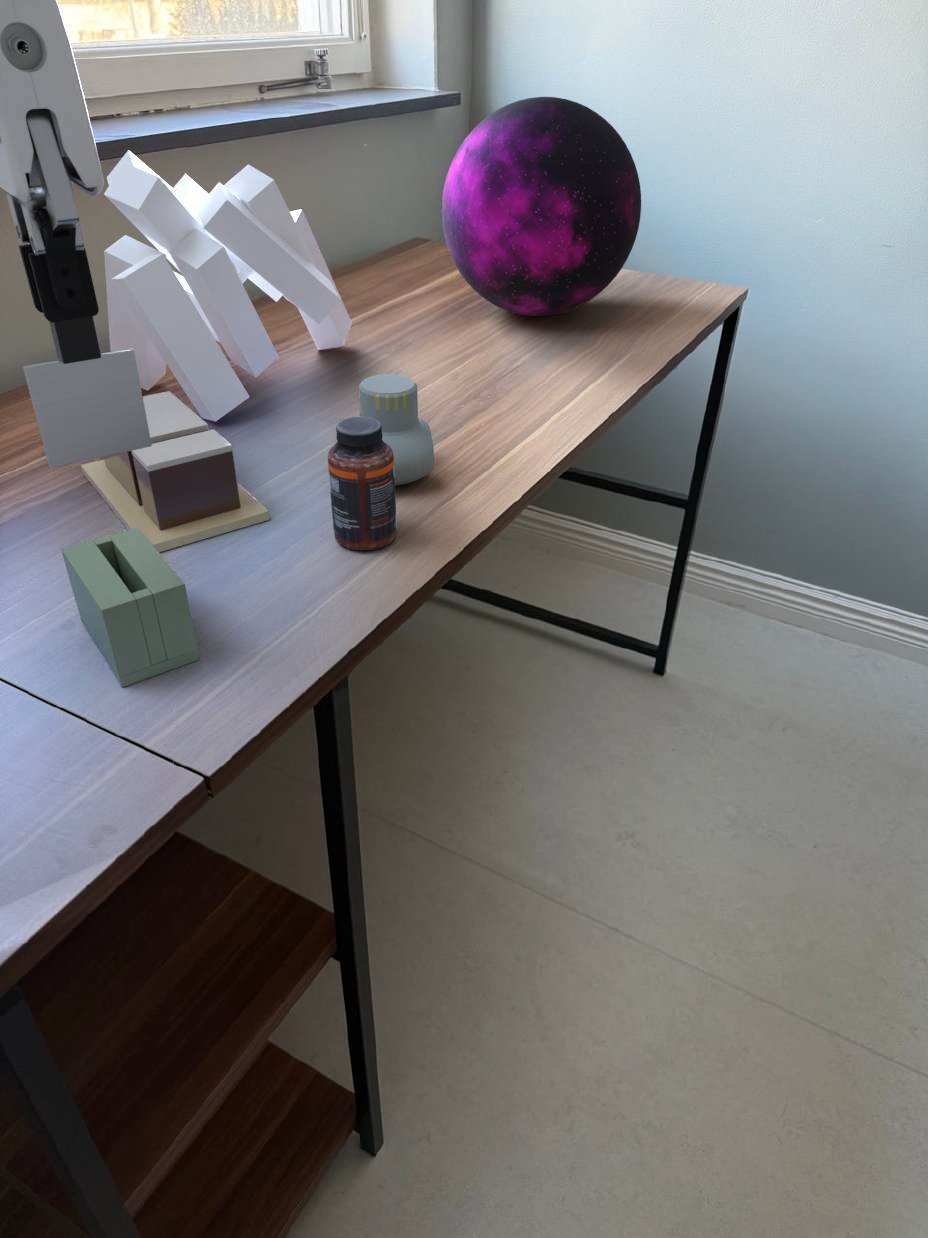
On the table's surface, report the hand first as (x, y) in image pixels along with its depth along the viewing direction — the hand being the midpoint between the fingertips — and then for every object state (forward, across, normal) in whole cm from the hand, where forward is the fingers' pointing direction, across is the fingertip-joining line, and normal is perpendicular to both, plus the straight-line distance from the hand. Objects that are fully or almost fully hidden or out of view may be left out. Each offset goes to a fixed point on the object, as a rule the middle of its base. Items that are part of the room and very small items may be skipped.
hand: (67, 311), depth 56 cm
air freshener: (+26, +13, -31) cm, 42 cm away
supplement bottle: (+26, +3, -22) cm, 34 cm away
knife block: (+25, -1, +1) cm, 25 cm away
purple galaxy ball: (+26, +51, -81) cm, 99 cm away
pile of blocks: (+26, +48, -29) cm, 62 cm away
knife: (+10, 0, 0) cm, 10 cm away
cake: (+25, +21, -10) cm, 34 cm away
